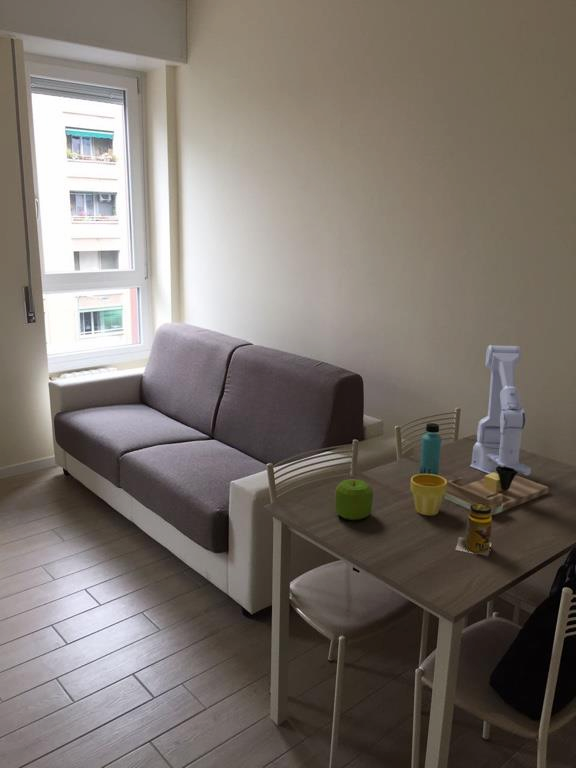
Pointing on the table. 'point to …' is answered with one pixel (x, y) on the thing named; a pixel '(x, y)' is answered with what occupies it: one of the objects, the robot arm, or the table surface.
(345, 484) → the apple
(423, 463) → the beverage bottle
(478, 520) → the condiment
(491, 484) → the mustard block
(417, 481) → the plant pot
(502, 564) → the table surface
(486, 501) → the trap board
